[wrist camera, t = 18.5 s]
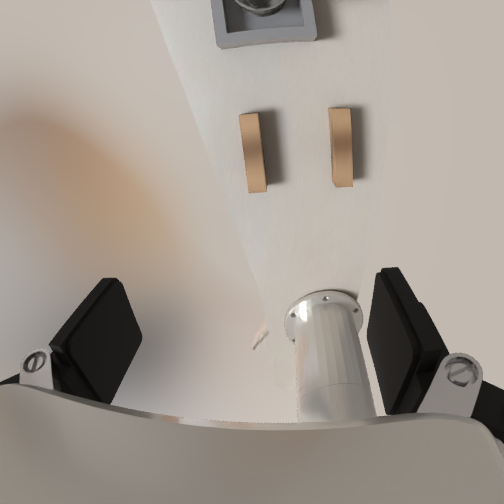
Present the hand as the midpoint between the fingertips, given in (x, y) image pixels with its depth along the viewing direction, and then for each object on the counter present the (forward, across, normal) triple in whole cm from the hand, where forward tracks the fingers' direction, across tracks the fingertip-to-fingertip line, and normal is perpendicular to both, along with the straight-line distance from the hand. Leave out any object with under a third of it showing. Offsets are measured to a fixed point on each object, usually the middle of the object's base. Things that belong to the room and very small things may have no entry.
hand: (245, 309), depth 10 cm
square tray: (+26, -1, -20) cm, 33 cm away
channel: (+27, -3, -2) cm, 27 cm away
